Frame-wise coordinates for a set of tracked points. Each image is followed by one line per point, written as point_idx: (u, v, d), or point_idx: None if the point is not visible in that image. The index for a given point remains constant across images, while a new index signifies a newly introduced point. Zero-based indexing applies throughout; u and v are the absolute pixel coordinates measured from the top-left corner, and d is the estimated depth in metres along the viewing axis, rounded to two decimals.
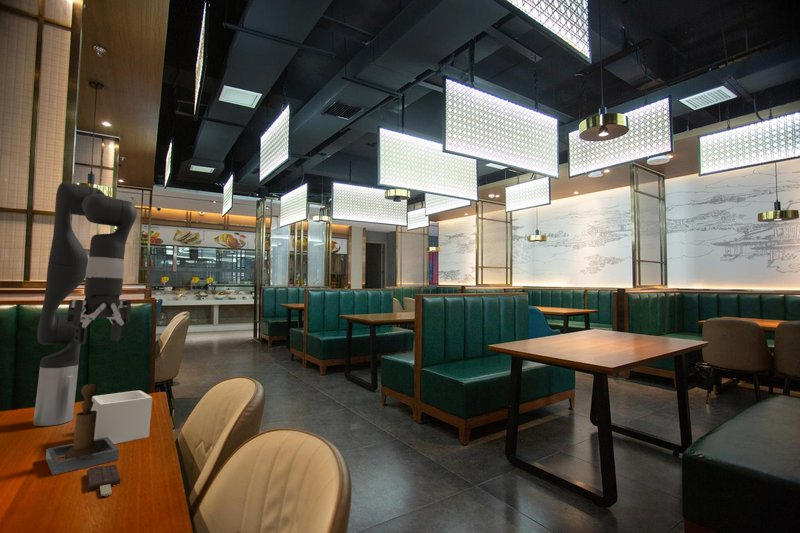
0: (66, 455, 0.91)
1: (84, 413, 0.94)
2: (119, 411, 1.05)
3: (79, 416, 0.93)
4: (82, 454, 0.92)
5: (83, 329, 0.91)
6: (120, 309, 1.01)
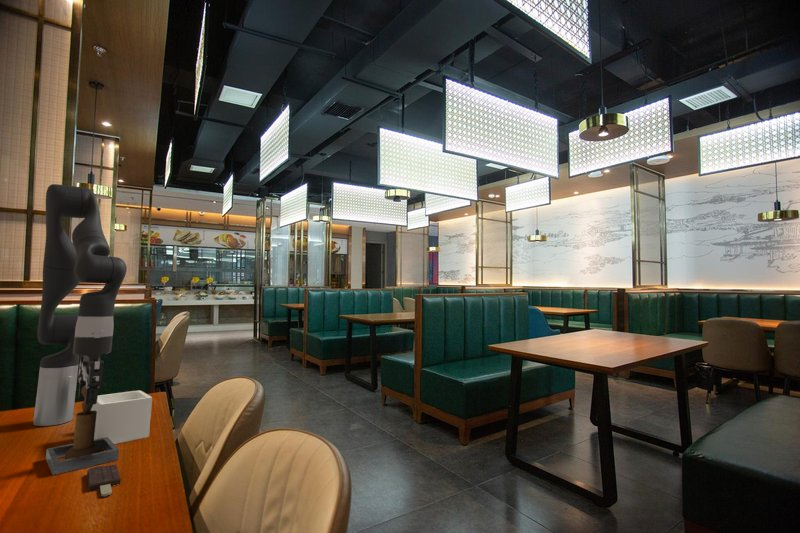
0: (66, 455, 0.91)
1: (84, 413, 0.94)
2: (119, 411, 1.05)
3: (79, 416, 0.93)
4: (82, 454, 0.92)
5: (97, 389, 0.93)
6: None
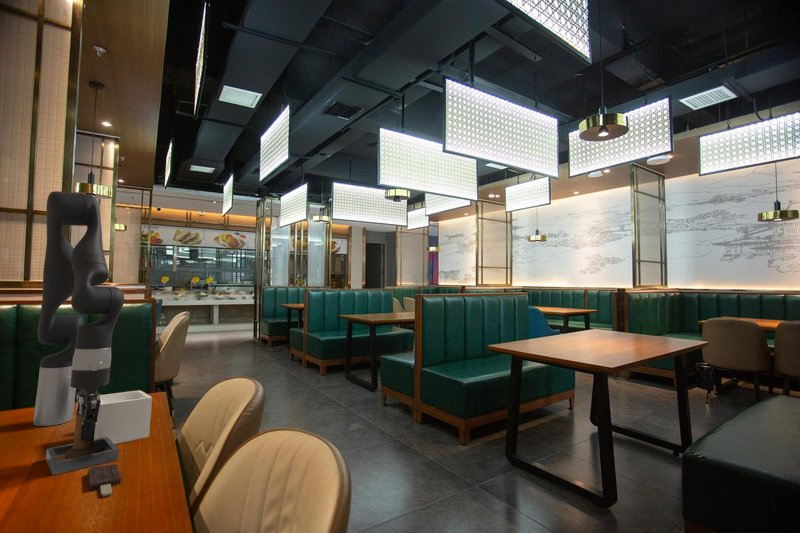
0: (66, 455, 0.91)
1: None
2: (119, 411, 1.05)
3: (79, 416, 0.93)
4: (82, 454, 0.92)
5: (92, 425, 0.93)
6: None
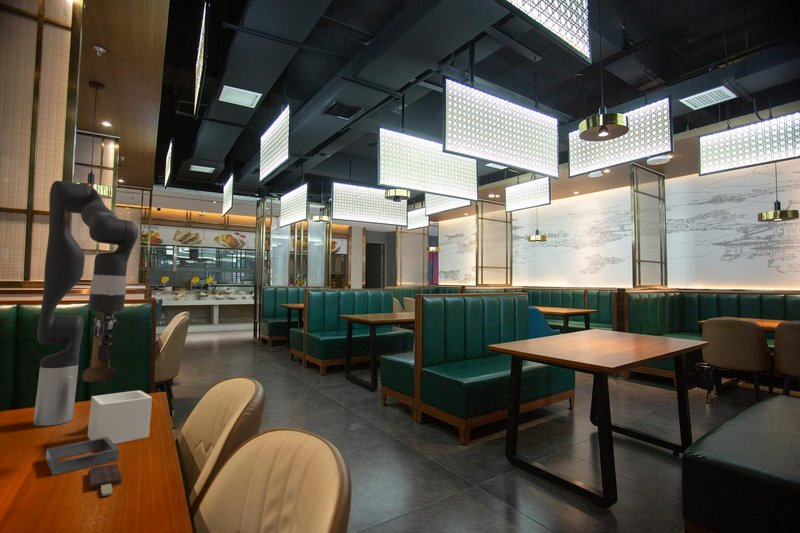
0: (84, 372, 0.97)
1: None
2: (119, 411, 1.05)
3: (96, 337, 0.99)
4: (99, 372, 0.98)
5: (108, 346, 1.00)
6: None
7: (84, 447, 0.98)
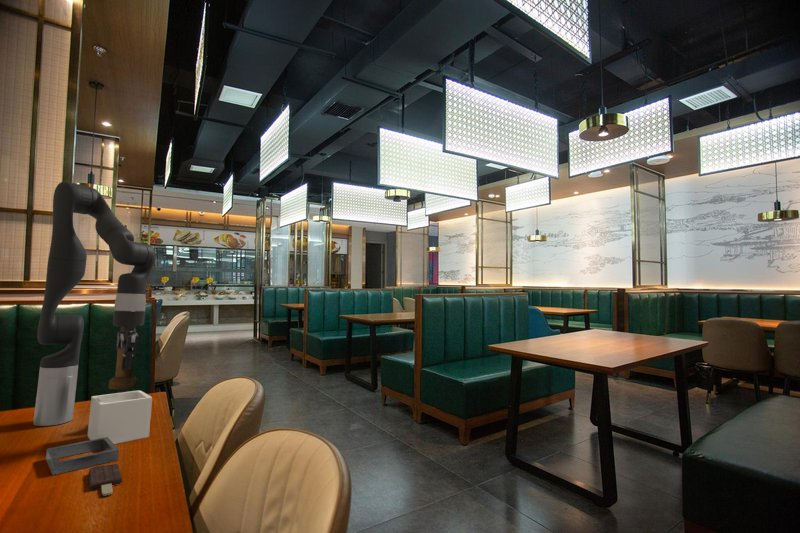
0: (110, 381, 1.09)
1: None
2: (119, 411, 1.05)
3: (120, 349, 1.10)
4: (123, 381, 1.09)
5: (131, 357, 1.11)
6: None
7: (84, 447, 0.98)
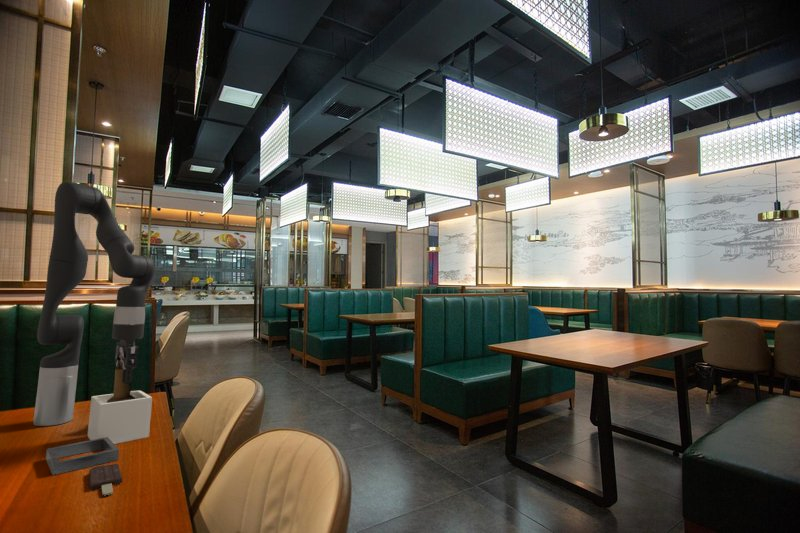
0: (108, 402, 1.08)
1: (122, 368, 1.11)
2: (119, 411, 1.05)
3: (118, 370, 1.09)
4: None
5: (131, 370, 1.10)
6: None
7: (84, 447, 0.98)
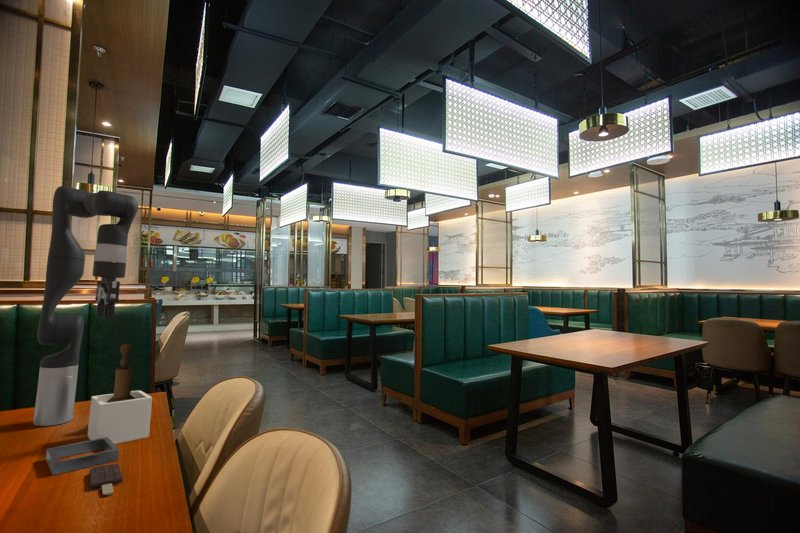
0: (108, 402, 1.08)
1: (122, 368, 1.11)
2: (119, 411, 1.05)
3: (119, 370, 1.10)
4: None
5: (113, 306, 1.08)
6: None
7: (84, 447, 0.98)
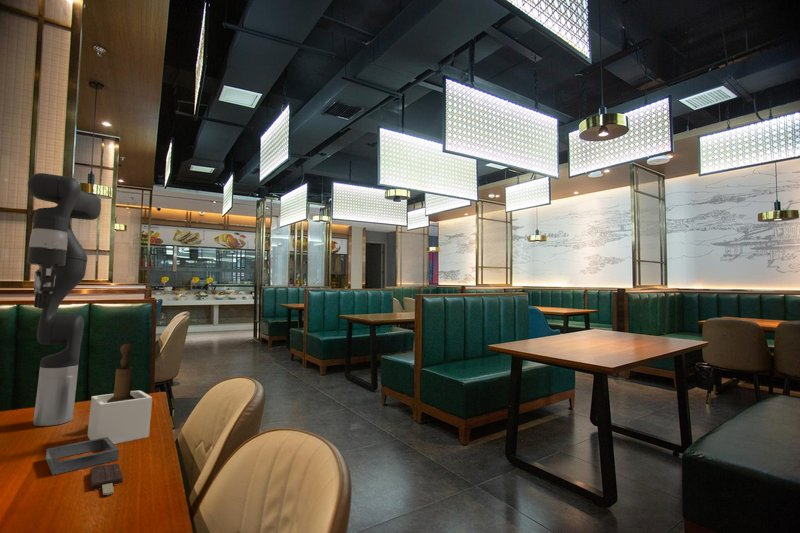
0: (108, 402, 1.08)
1: (122, 368, 1.11)
2: (119, 411, 1.05)
3: (119, 370, 1.10)
4: None
5: (49, 295, 1.00)
6: None
7: (84, 447, 0.98)
